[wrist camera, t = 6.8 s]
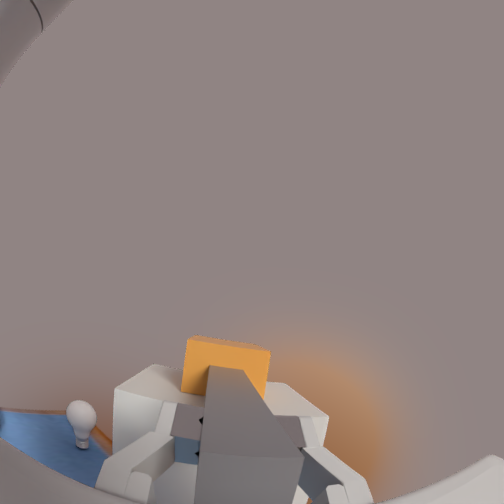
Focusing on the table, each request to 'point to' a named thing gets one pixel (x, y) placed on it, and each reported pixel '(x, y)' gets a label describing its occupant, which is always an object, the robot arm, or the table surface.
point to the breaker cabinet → (169, 388)
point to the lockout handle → (238, 426)
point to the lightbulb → (81, 421)
